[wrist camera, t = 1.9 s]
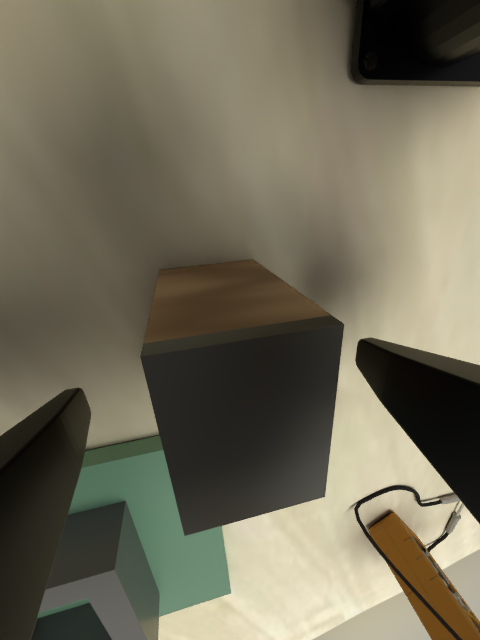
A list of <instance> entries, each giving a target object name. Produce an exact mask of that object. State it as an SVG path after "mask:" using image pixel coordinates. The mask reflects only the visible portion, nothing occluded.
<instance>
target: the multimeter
mask: <svg viewBox="0 0 480 640" xmlns="http://www.w3.org/2000/svg"><path fill="white" fill-rule="evenodd" d="M393 490H406V491H410V492H413V493H414V494H415V495H416V498H417V502H418V504H419V505H420V506H422V507H425V506H432V505H437V504H448V503H452V502H457V501H461V500H460V499H459V498H458V497H457V495H451V496H447V497H443V498H441V499H439V500H438V501H435V502H430V503H421V501H420V496H419V494H418V493H417V491H415V490H414V489H412V488H408V487H404V486H396V487H390V488H387V489H384V490H381V491H379V492H376V493H374V494H372V495H370V496H368V497H366V498H364V499H363V500H361V501H359V502H358V503H357V505H356V507H355V508H354V510H355V514H356V518H357V521H358V523H359V525H360V526H361V528H362V530H363V532H364V533H365V535H366V536H367V538H368V539H369V540H370V542H371V543H372V544H373V546H374V547H375V548H376V550H377V551H378V552H379V554H380V555H381V556H382V557H383V558H384V559H385V561H386V562H387V564H388V566H389V567H390V569H391V571H392V573H393V574H394V575H395V578H396V579H397V581H398V583H399V584H400V586H401V588H402V590H403V591H404V593H405V595H406V596H407V597H408V600H409V601H410V603H411V605H412V606H413V608H414V610H415V611H416V613H417V615H418V617H419V618H420V620H421V622H422V623H423V625H424V627H425V629H426V630H427V632H428V634H429V635H430V637H431V639H432V640H480V622H479V620H478V619H477V618H476V616H475V615H474V613H473V612H472V611H471V609H470V608H469V607H468V605H467V604H466V602H465V601H464V600H463V599H462V597H461V596H460V594H459V593H458V592H457V590H456V589H455V588H454V586H453V585H452V583H451V582H450V580H449V579H448V578H447V577H446V575H445V574H444V572H443V571H442V570H441V568H440V567H439V565H438V564H437V563H436V561H435V560H434V559H433V557H432V556H431V554H430V553H429V552H430V550H431V549H433V548H434V547H435V546H436V545H437V544H439V543H440V542H441V541H443V540H444V539H445V538H446V537H447V536H448V535H449V534H450V533H451V532H452V531H453V530H454V528H455V526H456V524H457V522H458V521H459V519H461V516H460V515H459V514H460V512H461V510H462V509H463V507H464V504H463V503H462V504H461V506H460V508H459V510H458V511H457V513H456V512H454V513H453V516H452V518H451V520H450V522H449V524H448V526H447V529H446V533H445V534H444V535H443V536H442V537H441V538H439V539H438V540H437V541H435V542H434V543H433V544H432V545H431V546H429V547H428V548H427V549H426V548H425V546H424V545H423V543H422V542H421V541H420V539H419V538H418V537H417V536H416V535H415V534H414V533H413V532H412V531H411V530H410V529H409V528H408V527H407V526H406V525H405V524H404V523H403V522H402V520H401V519H400V518H399V517H398V516H397V515H396V514H395V513H393V512H392V513H391V514H389V515H388V516H386V517H385V518H384V519H382V520H381V521H379V522H378V523H376V524H375V525H373V526H372V527H371V528H369V533H370V535H371V536H370V535H369V533H368V532H367V530H366V528H365V527H364V525H363V523H362V522H361V520H360V517H359V513H358V508H359V507H360V505H361V504H363V503H365V502H367V501H369V500H371V499H372V498H374V497H377V496H379V495H381V494H384V493H386V492H389V491H393Z"/></svg>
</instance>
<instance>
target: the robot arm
mask: <svg viewBox="0 0 480 640" xmlns="http://www.w3.org/2000/svg"><path fill="white" fill-rule="evenodd" d="M365 57H367V58H368V59H369V61H370V69H369V70H367V69H366V67H365V62H364V60H365ZM351 72H352V75H353V78H354V80H355V81H356V82H357V83H360V84H392V85H457V86H480V0H357V5H356V16H355V28H354V39H353V51H352V62H351ZM356 365H357V367H358V369H359V370H360V372H361V373H362V375H363V376H364V378H365V379H366V381H367V382H368V384H369V385H370V387H371V388H372V390H373V391H374V393H375V394H376V396H377V397H378V399H379V400H380V401H381V403H382V404H383V405H384V407H385V408H386V409H387V410H388V412H389V413H390V414H391V415H392V417H393V418H394V419H395V420H396V421H397V423H398V424H399V425H400V426H401V428H402V429H403V430H404V431H405V433H406V434H407V435H408V436H409V437H410V439H411V440H412V441H413V442H414V444H415V445H416V446H417V447H418V449H419V450H420V451H421V452H422V453H423V455H424V456H425V457H426V458H427V460H428V461H429V462H430V463H431V465H432V466H433V467H434V468H435V469H436V471H437V472H438V473H439V474H440V476H441V477H442V478H443V479H444V481H445V482H446V483H447V484H448V486H449V487H450V488H451V489H452V490H453V492H454V493H455V494H456V495H457V497H458V498H459V499H460V500H461V502H462V503H463V504H464V505H465V506H466V508H467V509H468V510H469V511H470V513H471V514H472V515H473V516H474V518H475V519H476V520H477V521H478V522H479V524H480V365H476V364H473V363H469V362H465V361H461V360H457V359H453V358H449V357H445V356H441V355H437V354H434V353H430V352H426V351H422V350H418V349H414V348H410V347H406V346H402V345H398V344H395V343H391V342H387V341H383V340H379V339H375V338H365V339H360V340H359V342H358V345H357V352H356ZM90 419H91V410H90V407H89V404H88V402H87V399H86V396H85V394H84V391H83V390H82V389H81V388H73V389H67V390H64V391H63V392H62V393H60V394H59V395H57V396H56V397H55V398H53V399H52V400H50V401H49V402H47V403H46V404H45V405H43V406H42V407H40V408H39V409H38V410H36V411H35V412H33V413H32V414H31V415H29V416H28V417H26V418H25V419H24V420H22V421H21V422H19V423H18V424H17V425H15V426H14V427H12V428H11V429H10V430H8V431H7V432H5V433H4V434H3V435H1V436H0V640H31V637H32V633H33V630H34V627H35V623H36V620H37V617H38V613H39V610H40V607H41V603H42V600H43V596H44V593H45V590H46V586H47V583H48V580H49V576H50V573H51V570H52V566H53V563H54V559H55V556H56V553H57V549H58V546H59V543H60V539H61V536H62V533H63V529H64V526H65V523H66V519H67V516H68V512H69V509H70V506H71V502H72V499H73V496H74V492H75V489H76V486H77V482H78V479H79V475H80V472H81V468H82V464H83V459H84V453H85V447H86V442H87V436H88V430H89V425H90Z"/></svg>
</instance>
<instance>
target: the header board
mask: <svg viewBox="0 0 480 640" xmlns="http://www.w3.org/2000/svg"><path fill="white" fill-rule="evenodd" d="M230 593H231V589H230V582H229V575H228V568H227V561H226V554H225V547H224V540H223V533H222V526H219V527H215V528H212V529H208V530H205V531H201V532H198V533H194V534H190V535H187V536H184V532H183V528H182V524H181V520H180V516H179V512H178V508H177V503H176V499H175V495H174V491H173V487H172V483H171V479H170V475H169V471H168V467H167V463H166V459H165V454H164V450H163V446H162V442H161V438H160V435H159V436H154V437H150V438H145V439H140V440H135V441H131V442H126V443H121V444H117V445H112V446H107V447H102V448H98V449H93V450H88V451H85V453H84V459H83V464H82V468H81V472H80V475H79V479H78V482H77V486H76V489H75V492H74V496H73V499H72V502H71V506H70V509H69V512H68V516H67V519H66V523H65V526H64V529H63V533H62V536H61V539H60V543H59V546H58V549H57V553H56V556H55V559H54V563H53V566H52V570H51V573H50V576H49V580H48V583H47V586H46V590H45V593H44V596H43V600H42V603H41V607H40V610H39V613H38V617H37V620H36V623H35V627H34V630H33V633H32V637H31V640H158V627H159V617H160V616H163V615H166V614H169V613H172V612H175V611H178V610H181V609H184V608H187V607H190V606H193V605H196V604H199V603H203V602H206V601H209V600H212V599H215V598H218V597H221V596H224V595H227V594H230Z"/></svg>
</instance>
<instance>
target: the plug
mask: <svg viewBox="0 0 480 640" xmlns="http://www.w3.org/2000/svg"><path fill="white" fill-rule="evenodd" d="M343 329H344V324H343V323H342V322H340V321H339V320H337V319H336V318H335V317H333V316H332V315H330V314H329V313H328V312H326V311H325V310H323V309H322V308H321V307H319V306H318V305H316V304H315V303H314V302H312V301H311V300H309V299H308V298H307V297H305V296H304V295H302V294H301V293H300V292H298V291H297V290H295V289H294V288H293V287H291V286H290V285H288V284H287V283H286V282H284V281H283V280H281V279H280V278H279V277H277V276H276V275H274V274H273V273H272V272H270V271H269V270H267V269H266V268H265V267H263V266H262V265H260V264H259V263H258V262H256V261H255V260H246V261H236V262H227V263H217V264H208V265H198V266H189V267H180V268H170V269H161V270H159V274H158V279H157V283H156V288H155V292H154V297H153V302H152V306H151V311H150V315H149V320H148V325H147V329H146V334H145V339H144V343H143V348H142V352H141V361H142V365H143V369H144V373H145V377H146V381H147V385H148V389H149V393H150V397H151V401H152V405H153V410H154V414H155V418H156V422H157V426H158V430H159V434H160V438H161V442H162V446H163V450H164V454H165V459H166V463H167V467H168V471H169V475H170V479H171V483H172V487H173V491H174V495H175V499H176V503H177V508H178V512H179V516H180V520H181V524H182V528H183V532H184V536H187V535H190V534H194V533H198V532H201V531H205V530H208V529H212V528H215V527H219V526H222V525H226V524H230V523H233V522H237V521H240V520H244V519H247V518H251V517H255V516H258V515H262V514H265V513H269V512H272V511H276V510H279V509H283V508H287V507H290V506H294V505H297V504H301V503H304V502H308V501H311V500H315V499H319V498H322V497H325V490H326V481H327V472H328V464H329V455H330V446H331V437H332V428H333V419H334V410H335V401H336V392H337V383H338V374H339V365H340V356H341V347H342V338H343Z"/></svg>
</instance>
